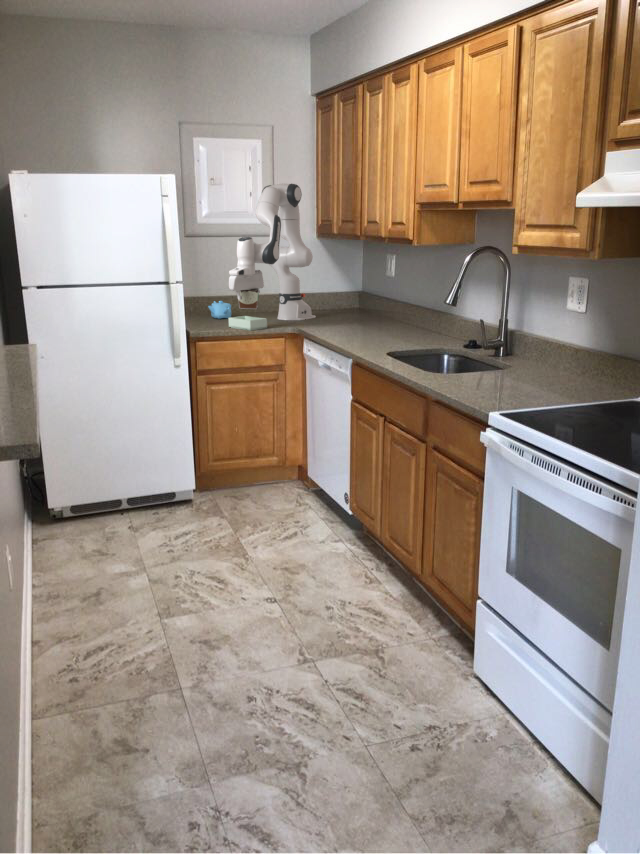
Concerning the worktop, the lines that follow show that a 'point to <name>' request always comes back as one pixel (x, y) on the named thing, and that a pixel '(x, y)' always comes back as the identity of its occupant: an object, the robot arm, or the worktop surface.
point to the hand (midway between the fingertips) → (247, 298)
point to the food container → (249, 299)
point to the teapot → (220, 310)
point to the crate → (248, 323)
